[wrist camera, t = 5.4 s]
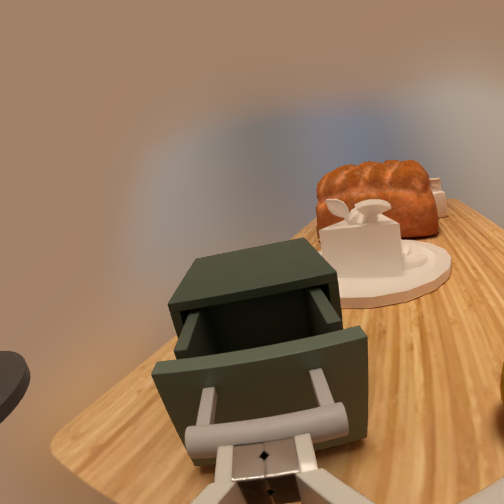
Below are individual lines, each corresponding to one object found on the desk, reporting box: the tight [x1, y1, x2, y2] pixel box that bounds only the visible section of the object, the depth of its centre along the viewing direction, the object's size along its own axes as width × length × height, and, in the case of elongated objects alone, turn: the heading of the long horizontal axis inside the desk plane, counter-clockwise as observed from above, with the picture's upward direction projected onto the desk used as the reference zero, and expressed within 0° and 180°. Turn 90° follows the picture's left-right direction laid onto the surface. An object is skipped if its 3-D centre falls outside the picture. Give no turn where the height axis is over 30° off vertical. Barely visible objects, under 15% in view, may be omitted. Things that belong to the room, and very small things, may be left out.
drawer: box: [151, 285, 368, 466], centre depth 18 cm, size 16×10×7 cm, turn 1°
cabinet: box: [168, 238, 343, 339], centre depth 27 cm, size 12×11×9 cm
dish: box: [318, 199, 452, 308], centre depth 43 cm, size 25×25×11 cm
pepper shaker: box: [429, 178, 447, 218], centre depth 67 cm, size 4×4×10 cm
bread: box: [316, 160, 439, 239], centre depth 62 cm, size 14×26×16 cm, turn 57°
